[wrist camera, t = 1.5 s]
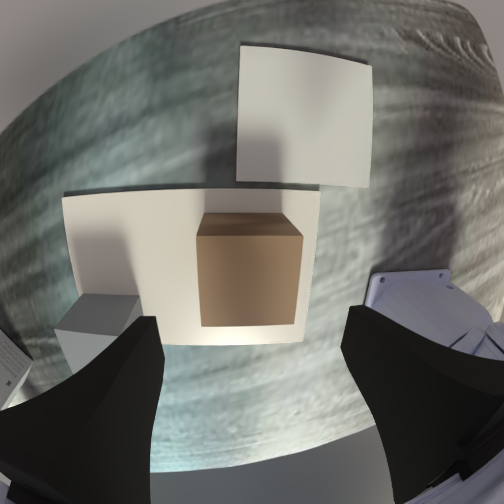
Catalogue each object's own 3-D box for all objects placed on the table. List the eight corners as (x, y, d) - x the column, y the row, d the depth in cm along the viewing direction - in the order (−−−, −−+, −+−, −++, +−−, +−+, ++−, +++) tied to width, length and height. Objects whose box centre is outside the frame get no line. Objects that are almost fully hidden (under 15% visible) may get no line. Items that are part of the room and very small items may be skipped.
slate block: (139, 295, 19) (119, 336, 14) (150, 348, 20) (137, 392, 16) (83, 293, 18) (54, 328, 14) (98, 343, 20) (77, 382, 15)
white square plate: (368, 68, 15) (371, 66, 14) (365, 187, 18) (368, 188, 17) (240, 48, 14) (240, 45, 13) (236, 180, 17) (236, 181, 16)
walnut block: (282, 213, 17) (303, 235, 13) (278, 283, 19) (294, 324, 15) (203, 212, 17) (195, 235, 12) (206, 284, 19) (201, 326, 14)
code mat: (319, 190, 18) (321, 191, 17) (301, 339, 22) (303, 342, 21) (63, 197, 16) (61, 197, 15) (92, 336, 20) (91, 339, 20)
